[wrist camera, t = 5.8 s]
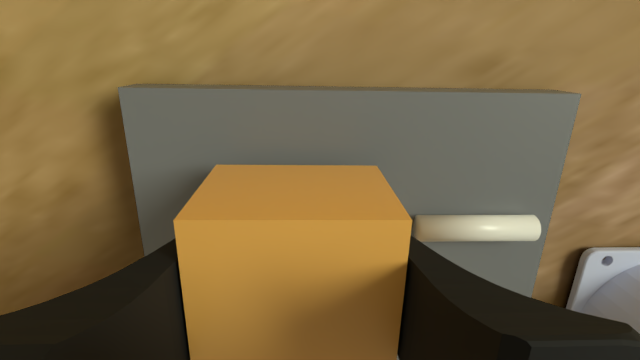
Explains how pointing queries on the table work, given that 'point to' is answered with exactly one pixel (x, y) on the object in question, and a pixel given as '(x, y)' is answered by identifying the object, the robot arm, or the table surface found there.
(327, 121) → the flat gray rectangular board
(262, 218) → the light wooden brick
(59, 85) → the table surface
